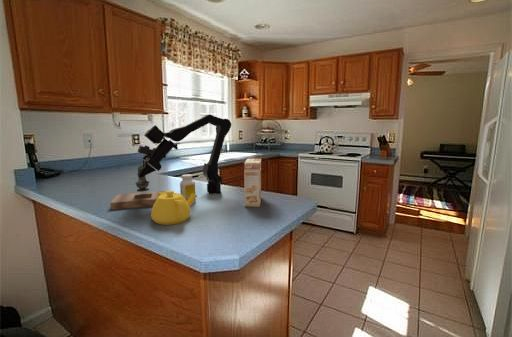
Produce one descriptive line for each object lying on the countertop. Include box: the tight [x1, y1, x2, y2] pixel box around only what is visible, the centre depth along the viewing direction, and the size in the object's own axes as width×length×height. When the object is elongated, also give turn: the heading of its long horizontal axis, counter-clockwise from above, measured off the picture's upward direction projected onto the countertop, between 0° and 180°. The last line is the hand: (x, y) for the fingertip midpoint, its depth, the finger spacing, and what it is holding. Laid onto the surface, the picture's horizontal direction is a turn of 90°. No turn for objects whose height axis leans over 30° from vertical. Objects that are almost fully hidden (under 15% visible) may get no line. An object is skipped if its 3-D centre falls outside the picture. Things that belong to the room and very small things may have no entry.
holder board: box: [110, 190, 168, 210], centre depth 121 cm, size 24×14×3 cm, turn 107°
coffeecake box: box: [243, 158, 262, 208], centre depth 121 cm, size 15×7×20 cm, turn 176°
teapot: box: [150, 190, 198, 226], centre depth 101 cm, size 20×18×11 cm
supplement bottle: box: [179, 173, 197, 204], centre depth 120 cm, size 7×7×13 cm
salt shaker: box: [135, 164, 150, 193], centre depth 120 cm, size 6×6×12 cm
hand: (138, 176), depth 119 cm, fingers closed on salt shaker, 4 cm apart
